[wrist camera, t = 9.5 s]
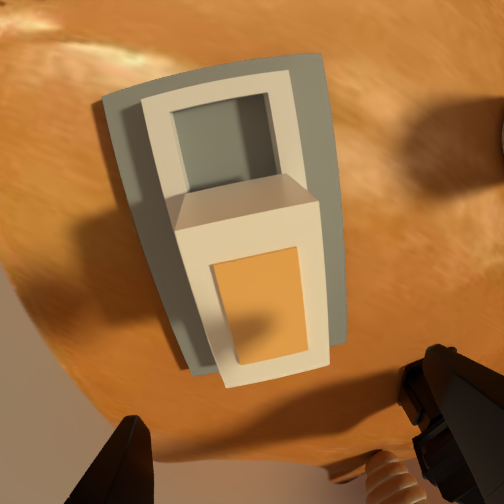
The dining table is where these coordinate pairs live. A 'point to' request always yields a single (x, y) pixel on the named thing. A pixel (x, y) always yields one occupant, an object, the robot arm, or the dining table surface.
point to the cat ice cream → (391, 482)
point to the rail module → (257, 276)
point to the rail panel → (225, 166)
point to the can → (503, 137)
